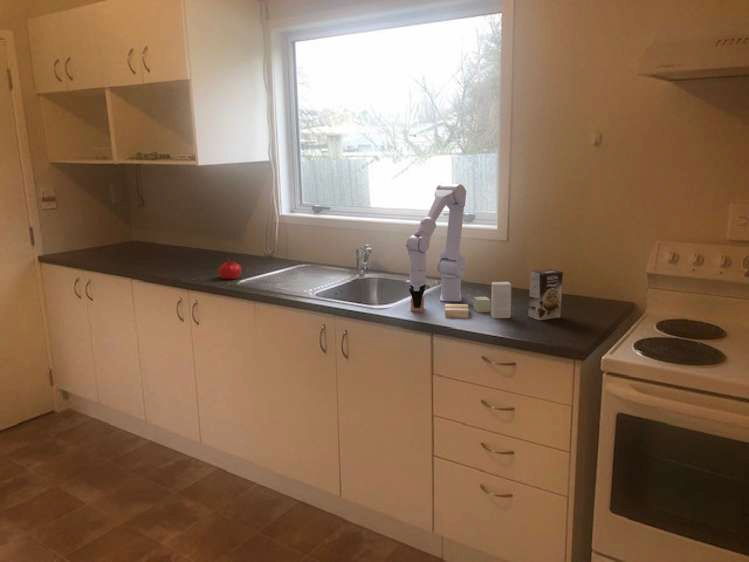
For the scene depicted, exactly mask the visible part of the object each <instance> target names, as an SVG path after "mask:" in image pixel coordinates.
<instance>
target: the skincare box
mask: <svg viewBox="0 0 749 562" xmlns="http://www.w3.org/2000/svg"><path fill="white" fill-rule="evenodd" d="M490 291H491V293H490V294H491V297H490V298H491V299H490V314H491V317H492V318H493V319H510V318H511V315H512V314H511V311H512V307H511V305H512V283H510V282H509V281H492V282H491V290H490Z"/></svg>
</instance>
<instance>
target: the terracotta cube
mask: <svg viewBox="0 0 749 562" xmlns="http://www.w3.org/2000/svg"><path fill="white" fill-rule="evenodd" d="M424 309H425V296H424V295H423V296H422V300H421V306H420V308H414V305H413V299H412V296H411V297H410V311H411V312H424Z"/></svg>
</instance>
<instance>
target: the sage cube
mask: <svg viewBox="0 0 749 562" xmlns="http://www.w3.org/2000/svg"><path fill="white" fill-rule="evenodd" d="M473 310H474V311H475V312H477V313H487V312H488V313H491V299H490V298H489V297H487V296H475V297H473Z"/></svg>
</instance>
